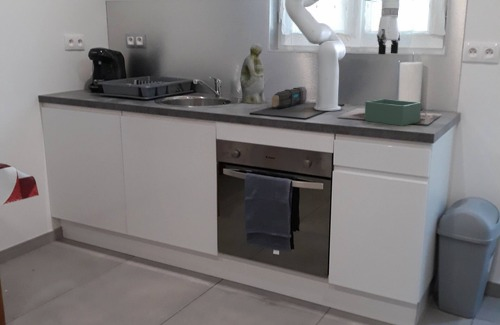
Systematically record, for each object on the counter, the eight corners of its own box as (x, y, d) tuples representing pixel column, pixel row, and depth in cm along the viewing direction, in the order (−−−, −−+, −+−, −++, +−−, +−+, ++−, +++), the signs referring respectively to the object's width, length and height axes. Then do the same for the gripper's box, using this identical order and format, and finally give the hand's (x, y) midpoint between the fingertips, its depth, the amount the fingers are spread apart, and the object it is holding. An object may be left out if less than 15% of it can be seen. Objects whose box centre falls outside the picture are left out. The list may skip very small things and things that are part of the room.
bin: (364, 120, 218) (365, 101, 216) (382, 116, 227) (383, 98, 225) (402, 125, 206) (403, 106, 204) (419, 121, 215) (421, 102, 213)
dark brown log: (266, 114, 250) (295, 99, 274) (278, 119, 248) (306, 103, 271) (270, 93, 245) (298, 80, 269) (282, 97, 243) (310, 83, 266)
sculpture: (253, 104, 266) (253, 43, 258) (235, 101, 276) (234, 43, 269) (269, 102, 273) (269, 43, 266) (251, 99, 283) (251, 42, 276)
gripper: (393, 13, 233) (391, 53, 237) (371, 13, 222) (369, 54, 226) (408, 13, 228) (406, 53, 232) (387, 12, 216) (384, 54, 221)
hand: (388, 53), depth 229 cm, fingers open, 9 cm apart
